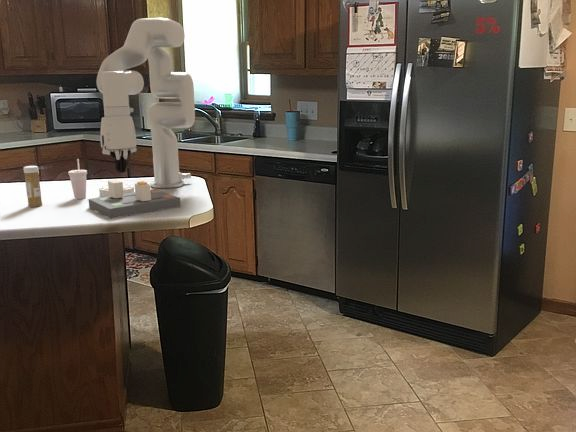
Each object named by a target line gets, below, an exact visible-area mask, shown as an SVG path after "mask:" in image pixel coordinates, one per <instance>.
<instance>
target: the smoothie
mask: <svg viewBox="0 0 576 432" xmlns="http://www.w3.org/2000/svg"><path fill="white" fill-rule="evenodd" d="M76 162H77V169H72V170H69V171H68V172H67V173H68V176H69V179H70V183H71V184H70V185H71V188H72V192H73V196H74V199H75V200H84V199H86V198H87V174H88V170H87V169H80V159H79V158H77V159H76Z"/></svg>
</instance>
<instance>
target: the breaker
mask: <svg viewBox="0 0 576 432" xmlns="http://www.w3.org/2000/svg"><path fill="white" fill-rule="evenodd" d="M123 184H124V183H123V181H121V180H118V179H113V180H108V181H107V185H108V188H109V196H111V197H113V198H121V197H124V193H123Z"/></svg>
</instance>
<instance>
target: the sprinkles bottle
mask: <svg viewBox="0 0 576 432" xmlns="http://www.w3.org/2000/svg"><path fill="white" fill-rule="evenodd" d="M22 169H23V175H24V179H25V180H24V181H25V189H26V197H27V203H28V204H27V206H28V207H29V208H38V207H41V206H42V205H43V202H42V200H43V199H42V191H41V183H40V177H39V171H40V170H39V166H37V165H26V166H23V168H22Z"/></svg>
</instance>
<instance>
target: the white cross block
mask: <svg viewBox="0 0 576 432" xmlns="http://www.w3.org/2000/svg"><path fill="white" fill-rule="evenodd" d="M98 192H99V197H106V196H109V188H108V184H107V185H102V186H101V187H100V188H99V191H98ZM133 192H135V186H133V185H131V184H128V183H123V193H124V194H126V193H133Z"/></svg>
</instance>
